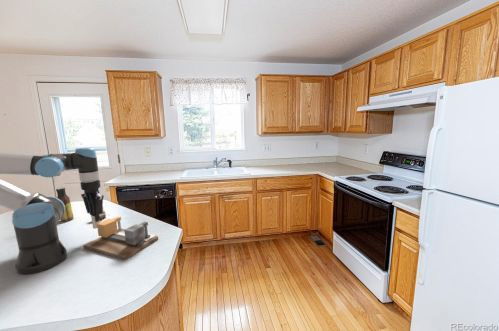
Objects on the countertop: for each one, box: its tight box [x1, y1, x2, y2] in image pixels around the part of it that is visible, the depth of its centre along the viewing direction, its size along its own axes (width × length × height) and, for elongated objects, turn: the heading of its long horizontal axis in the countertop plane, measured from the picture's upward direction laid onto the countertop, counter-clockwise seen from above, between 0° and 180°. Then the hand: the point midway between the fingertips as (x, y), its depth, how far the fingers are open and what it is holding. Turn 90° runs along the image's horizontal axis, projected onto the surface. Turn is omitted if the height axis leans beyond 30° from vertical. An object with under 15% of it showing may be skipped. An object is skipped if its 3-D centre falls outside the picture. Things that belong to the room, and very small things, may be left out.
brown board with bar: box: [83, 221, 159, 261], centre depth 102 cm, size 18×26×9 cm
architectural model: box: [99, 207, 107, 220], centre depth 131 cm, size 3×7×7 cm, turn 141°
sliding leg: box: [96, 216, 122, 238], centre depth 107 cm, size 10×5×6 cm, turn 158°
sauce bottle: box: [55, 186, 74, 223], centre depth 130 cm, size 7×6×20 cm
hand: (96, 227), depth 108 cm, fingers closed
